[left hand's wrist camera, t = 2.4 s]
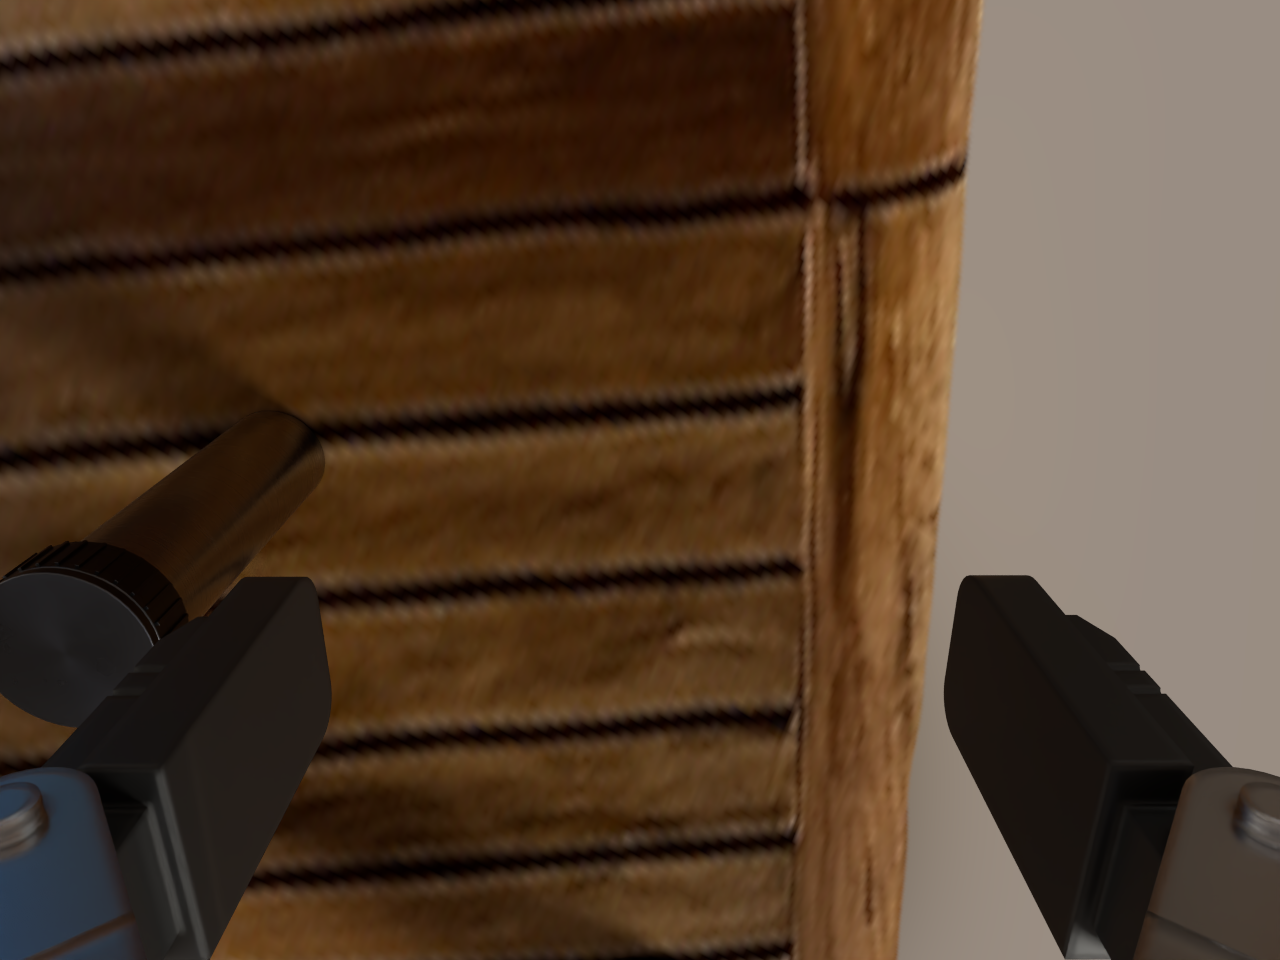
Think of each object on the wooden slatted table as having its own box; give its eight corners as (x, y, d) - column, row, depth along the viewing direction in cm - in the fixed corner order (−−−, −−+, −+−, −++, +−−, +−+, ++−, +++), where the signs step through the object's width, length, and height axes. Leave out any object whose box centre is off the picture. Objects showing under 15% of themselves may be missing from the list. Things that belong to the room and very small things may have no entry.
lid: (179, 541, 27) (144, 574, 25) (203, 693, 29) (172, 734, 27) (-4, 534, 27) (-53, 566, 25) (34, 686, 29) (-10, 727, 27)
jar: (320, 412, 41) (137, 582, 26) (328, 503, 42) (161, 710, 28) (221, 408, 41) (-20, 575, 26) (233, 498, 42) (13, 704, 28)
